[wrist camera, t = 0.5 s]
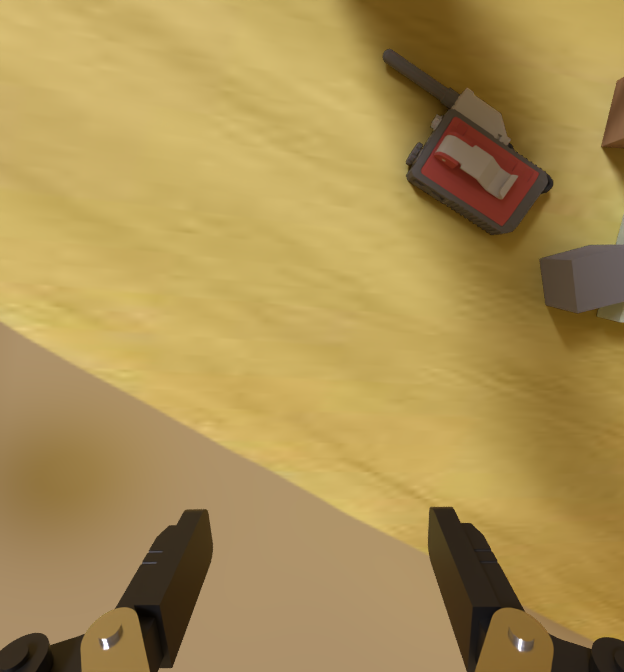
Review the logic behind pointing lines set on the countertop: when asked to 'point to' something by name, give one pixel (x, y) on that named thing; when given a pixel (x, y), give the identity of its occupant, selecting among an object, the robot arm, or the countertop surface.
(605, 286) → the charcoal block
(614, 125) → the walnut cube
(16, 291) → the countertop surface
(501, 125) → the walkie-talkie
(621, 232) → the pedestal
